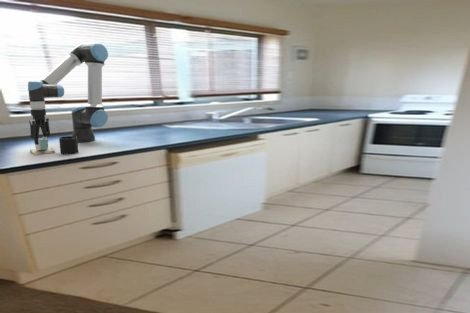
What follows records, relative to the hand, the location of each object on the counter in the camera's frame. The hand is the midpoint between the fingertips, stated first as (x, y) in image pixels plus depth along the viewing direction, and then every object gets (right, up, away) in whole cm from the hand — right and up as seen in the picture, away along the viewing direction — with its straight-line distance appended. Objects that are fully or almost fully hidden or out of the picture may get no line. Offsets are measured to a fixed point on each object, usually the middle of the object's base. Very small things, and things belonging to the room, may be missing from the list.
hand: (42, 148), depth 209 cm
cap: (0, 0, 0) cm, 0 cm away
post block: (0, -2, +1) cm, 2 cm away
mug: (+15, -2, +1) cm, 15 cm away
